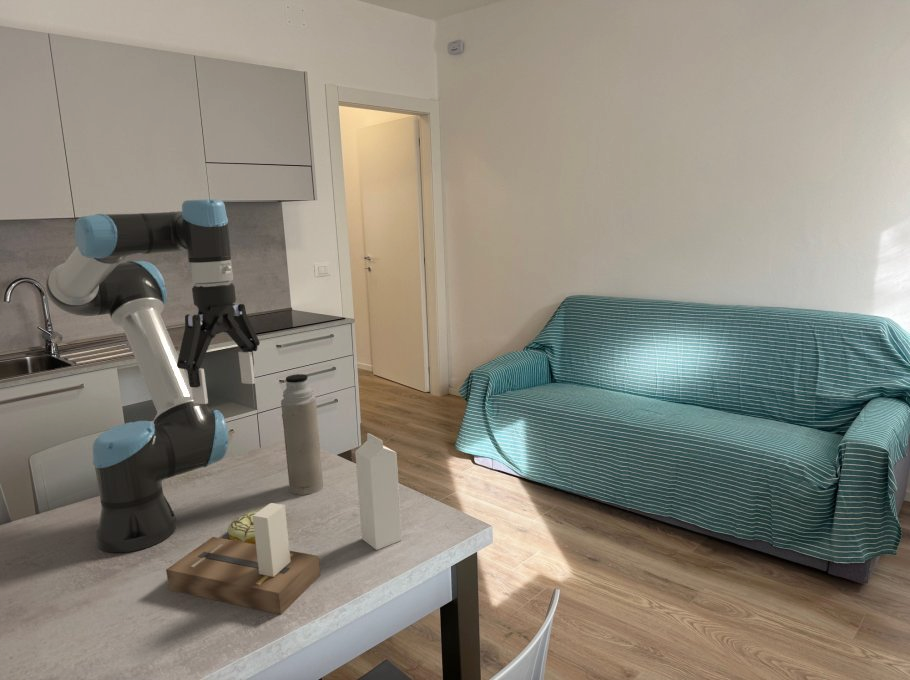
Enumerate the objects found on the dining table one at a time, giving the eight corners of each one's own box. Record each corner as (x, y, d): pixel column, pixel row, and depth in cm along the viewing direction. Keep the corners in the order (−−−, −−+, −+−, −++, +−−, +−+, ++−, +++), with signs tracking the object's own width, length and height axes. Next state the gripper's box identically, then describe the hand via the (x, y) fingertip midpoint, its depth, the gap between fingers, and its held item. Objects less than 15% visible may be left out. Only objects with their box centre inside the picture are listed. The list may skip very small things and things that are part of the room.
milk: (376, 550, 126) (368, 445, 121) (361, 538, 131) (353, 436, 126) (402, 540, 130) (395, 436, 125) (387, 528, 134) (379, 428, 130)
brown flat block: (169, 589, 116) (166, 568, 115) (215, 555, 127) (212, 536, 126) (281, 614, 107) (278, 592, 106) (320, 575, 118) (318, 555, 117)
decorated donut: (219, 537, 134) (217, 520, 133) (266, 518, 141) (264, 502, 141) (243, 554, 127) (241, 537, 126) (291, 533, 134) (289, 517, 133)
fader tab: (259, 574, 112) (252, 515, 110) (276, 559, 116) (270, 502, 114) (273, 576, 111) (267, 518, 108) (290, 561, 115) (284, 505, 113)
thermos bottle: (284, 494, 152) (272, 380, 147) (297, 480, 160) (286, 371, 154) (316, 495, 151) (306, 380, 146) (327, 481, 159) (318, 371, 153)
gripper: (179, 293, 108) (194, 414, 112) (270, 276, 130) (280, 376, 135) (144, 292, 110) (161, 410, 115) (240, 275, 133) (251, 374, 137)
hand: (225, 392), depth 125 cm, fingers open, 13 cm apart
